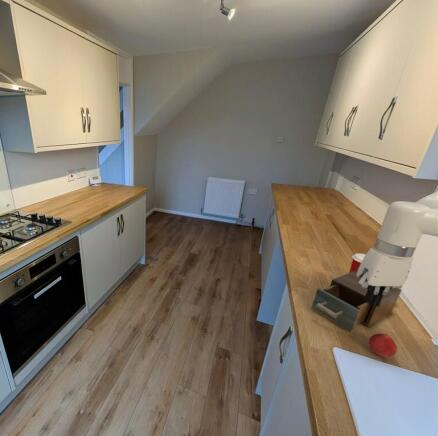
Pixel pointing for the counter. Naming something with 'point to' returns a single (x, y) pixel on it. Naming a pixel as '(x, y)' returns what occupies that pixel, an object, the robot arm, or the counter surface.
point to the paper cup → (356, 262)
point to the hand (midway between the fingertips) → (371, 303)
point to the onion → (383, 345)
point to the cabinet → (352, 284)
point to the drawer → (341, 306)
